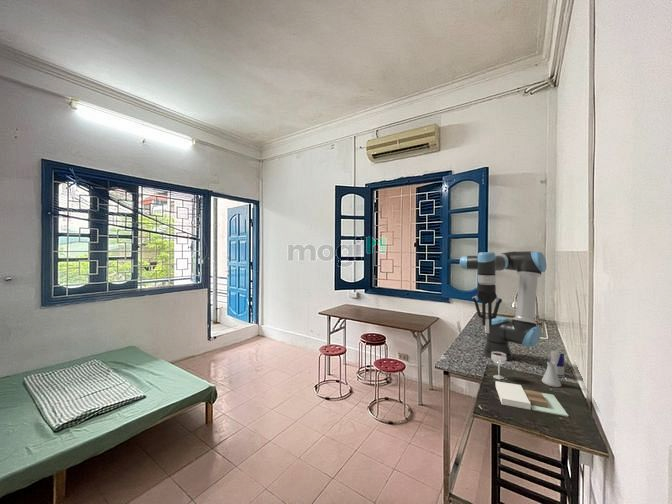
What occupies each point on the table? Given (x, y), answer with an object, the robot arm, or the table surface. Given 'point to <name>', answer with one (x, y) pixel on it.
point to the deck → (512, 395)
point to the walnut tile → (536, 398)
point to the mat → (551, 406)
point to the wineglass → (498, 361)
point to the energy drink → (558, 362)
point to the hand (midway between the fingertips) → (487, 332)
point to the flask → (551, 376)
